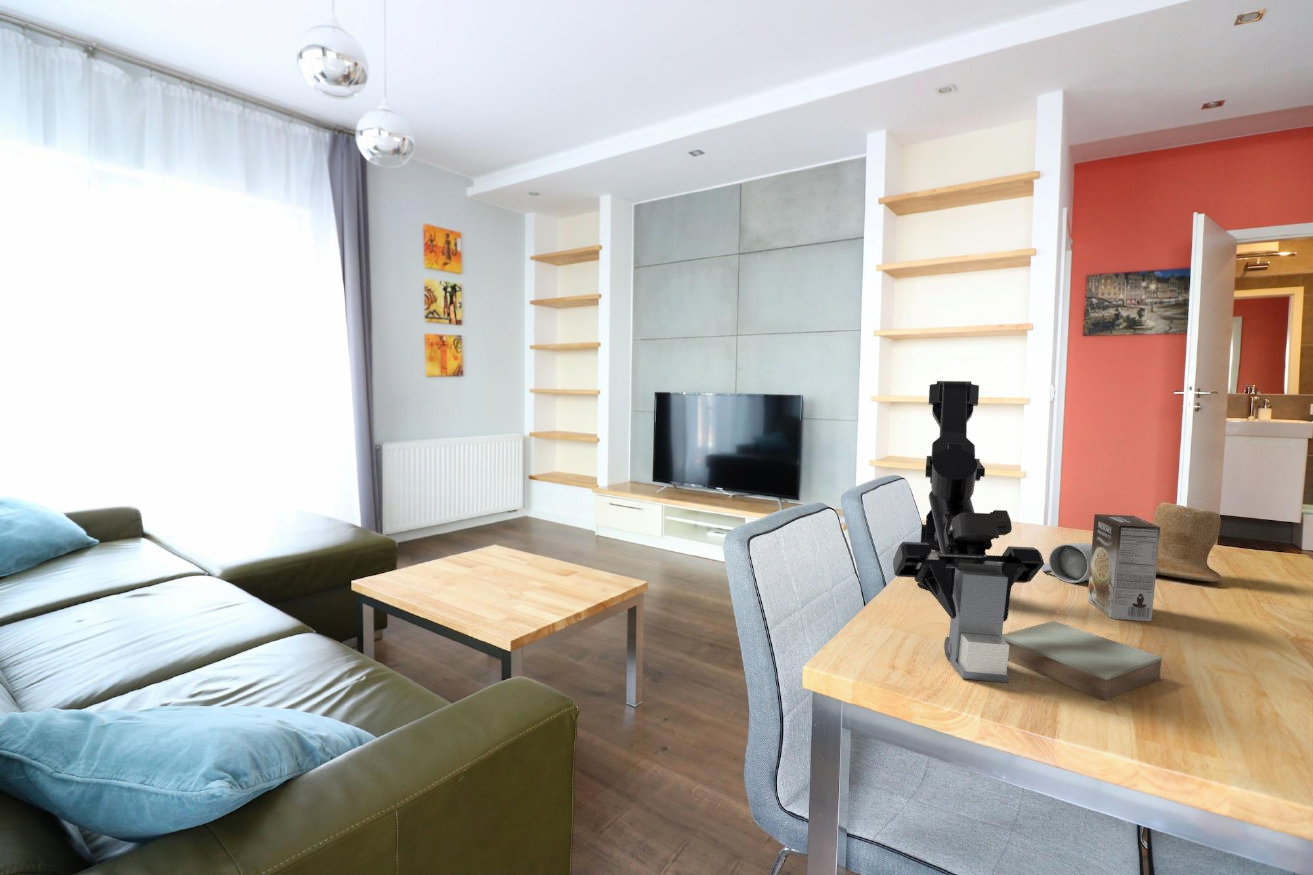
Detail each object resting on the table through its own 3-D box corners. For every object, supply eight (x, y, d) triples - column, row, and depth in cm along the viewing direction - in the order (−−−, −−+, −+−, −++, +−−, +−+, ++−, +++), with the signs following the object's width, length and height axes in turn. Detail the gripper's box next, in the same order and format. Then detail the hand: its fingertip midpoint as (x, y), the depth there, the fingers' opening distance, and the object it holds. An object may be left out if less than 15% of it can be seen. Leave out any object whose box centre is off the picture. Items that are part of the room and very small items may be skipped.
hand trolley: (943, 653, 90) (952, 557, 88) (984, 657, 89) (994, 560, 88) (962, 678, 82) (972, 573, 81) (1007, 682, 82) (1018, 577, 80)
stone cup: (1219, 576, 130) (1226, 504, 129) (1221, 590, 121) (1228, 513, 120) (1128, 561, 140) (1133, 495, 139) (1123, 573, 131) (1129, 502, 130)
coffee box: (1085, 600, 114) (1092, 512, 112) (1125, 603, 113) (1132, 515, 111) (1110, 619, 105) (1118, 524, 103) (1154, 622, 104) (1163, 526, 102)
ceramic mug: (1109, 582, 125) (1111, 543, 125) (1087, 588, 121) (1089, 548, 121) (1053, 568, 134) (1055, 533, 134) (1031, 574, 130) (1033, 537, 130)
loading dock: (997, 655, 90) (998, 635, 90) (1052, 639, 96) (1053, 620, 96) (1104, 700, 77) (1106, 676, 77) (1159, 678, 83) (1161, 657, 83)
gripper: (902, 485, 89) (921, 586, 79) (1042, 490, 87) (1080, 595, 77) (885, 528, 98) (901, 624, 88) (1013, 533, 96) (1044, 632, 86)
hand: (979, 618), depth 84 cm, fingers closed on hand trolley, 6 cm apart
